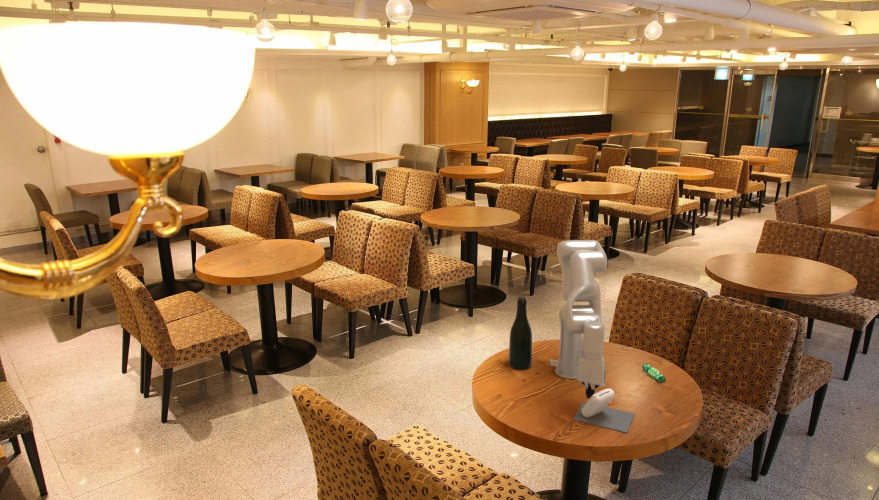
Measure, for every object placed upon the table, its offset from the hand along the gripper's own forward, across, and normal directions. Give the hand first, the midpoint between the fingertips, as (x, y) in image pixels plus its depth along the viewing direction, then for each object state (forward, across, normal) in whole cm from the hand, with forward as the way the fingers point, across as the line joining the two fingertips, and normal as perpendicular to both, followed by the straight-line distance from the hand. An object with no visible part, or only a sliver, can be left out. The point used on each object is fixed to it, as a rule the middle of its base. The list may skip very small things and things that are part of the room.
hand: (589, 397), depth 226 cm
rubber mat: (+7, +6, 0) cm, 9 cm away
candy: (+8, +17, +43) cm, 46 cm away
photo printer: (+6, +1, 0) cm, 6 cm away
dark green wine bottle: (+7, -38, +26) cm, 47 cm away
